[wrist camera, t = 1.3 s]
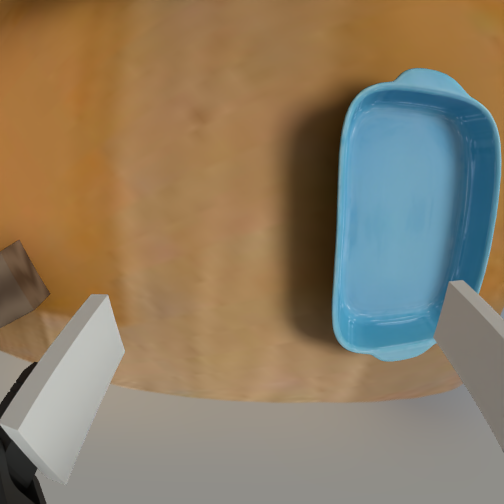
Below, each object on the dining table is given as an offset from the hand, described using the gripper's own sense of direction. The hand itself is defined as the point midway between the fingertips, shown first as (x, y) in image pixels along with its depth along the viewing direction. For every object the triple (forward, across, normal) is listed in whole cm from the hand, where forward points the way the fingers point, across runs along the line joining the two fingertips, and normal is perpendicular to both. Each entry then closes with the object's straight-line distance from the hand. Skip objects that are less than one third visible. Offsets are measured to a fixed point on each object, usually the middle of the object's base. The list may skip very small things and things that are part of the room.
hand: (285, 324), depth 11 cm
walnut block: (+27, -43, -13) cm, 52 cm away
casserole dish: (+28, +18, -4) cm, 33 cm away
